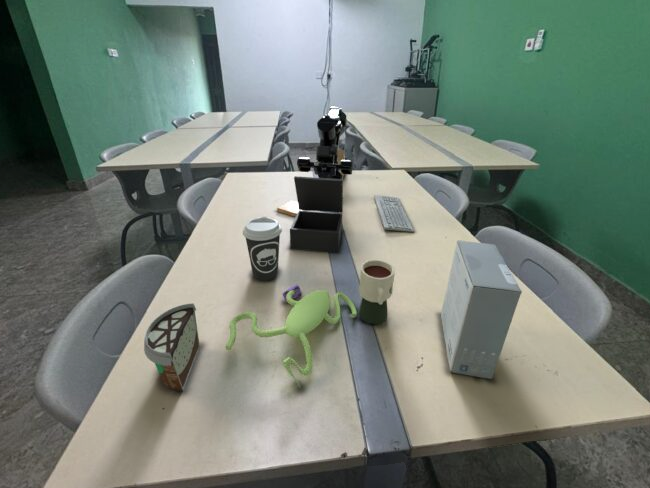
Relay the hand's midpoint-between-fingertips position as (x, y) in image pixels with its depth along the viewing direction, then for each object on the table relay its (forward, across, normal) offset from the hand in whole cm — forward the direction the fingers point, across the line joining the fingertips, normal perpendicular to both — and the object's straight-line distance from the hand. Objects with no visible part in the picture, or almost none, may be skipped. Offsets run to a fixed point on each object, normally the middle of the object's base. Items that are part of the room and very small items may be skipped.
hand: (322, 188), depth 106 cm
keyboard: (0, +25, +19) cm, 32 cm away
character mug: (+40, +18, -20) cm, 48 cm away
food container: (+53, -19, -33) cm, 65 cm away
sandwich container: (-30, 0, +50) cm, 58 cm away
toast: (+2, -12, +17) cm, 21 cm away
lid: (+5, 0, -5) cm, 7 cm away
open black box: (+17, 0, +2) cm, 17 cm away
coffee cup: (+31, -11, -12) cm, 35 cm away
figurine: (+45, +2, -25) cm, 51 cm away
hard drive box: (+44, +36, -24) cm, 62 cm away
